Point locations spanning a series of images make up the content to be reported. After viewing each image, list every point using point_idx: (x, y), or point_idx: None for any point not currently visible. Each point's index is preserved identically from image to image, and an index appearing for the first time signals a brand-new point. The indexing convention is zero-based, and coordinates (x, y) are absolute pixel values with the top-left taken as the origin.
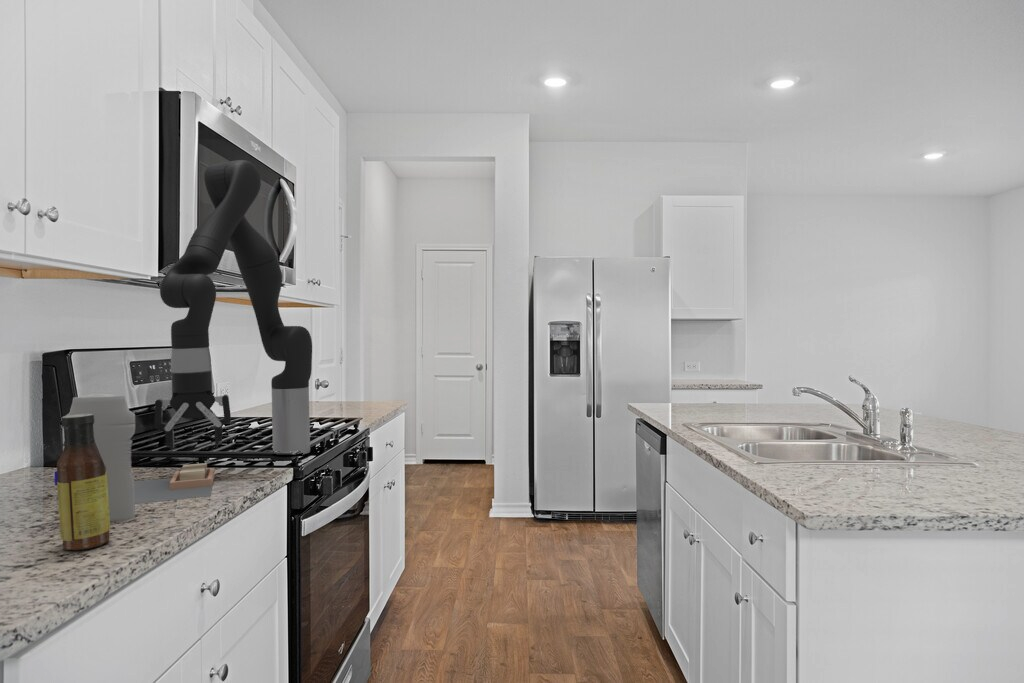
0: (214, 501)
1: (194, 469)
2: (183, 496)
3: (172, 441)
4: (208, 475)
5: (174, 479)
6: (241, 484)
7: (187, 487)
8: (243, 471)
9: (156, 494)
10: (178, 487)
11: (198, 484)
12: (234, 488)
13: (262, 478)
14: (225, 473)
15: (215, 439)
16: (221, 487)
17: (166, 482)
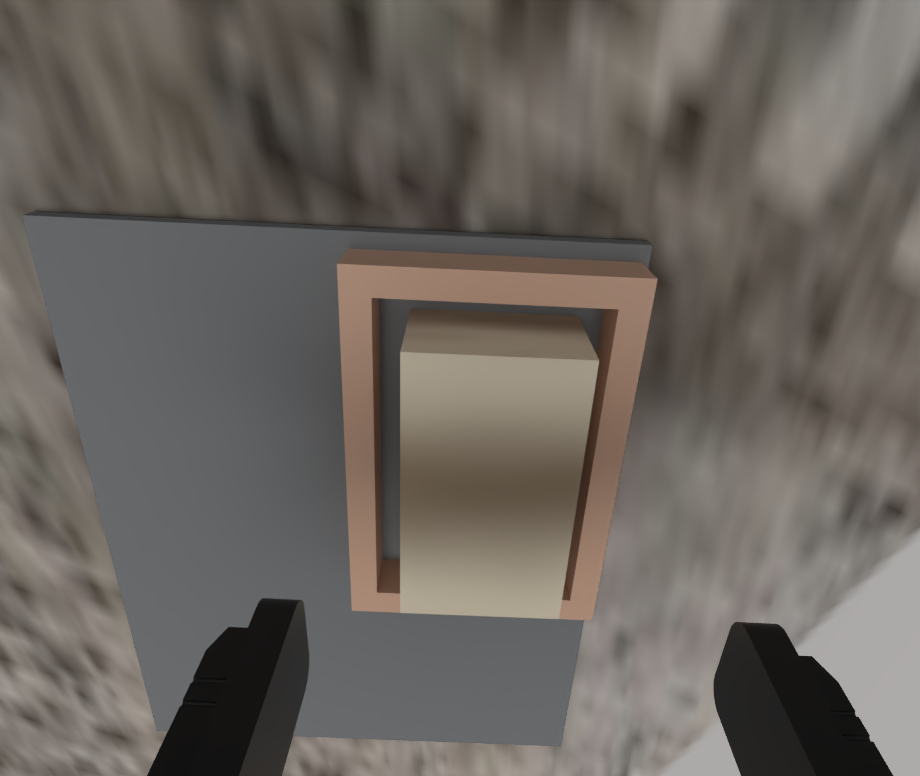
0: (572, 770)
1: (495, 561)
2: (442, 710)
3: (283, 748)
4: (582, 529)
5: (369, 544)
6: (750, 552)
7: None
8: (893, 141)
9: None
10: None
11: None
12: (694, 616)
13: (913, 463)
14: (738, 151)
15: (738, 752)
16: (634, 569)
17: (302, 373)
